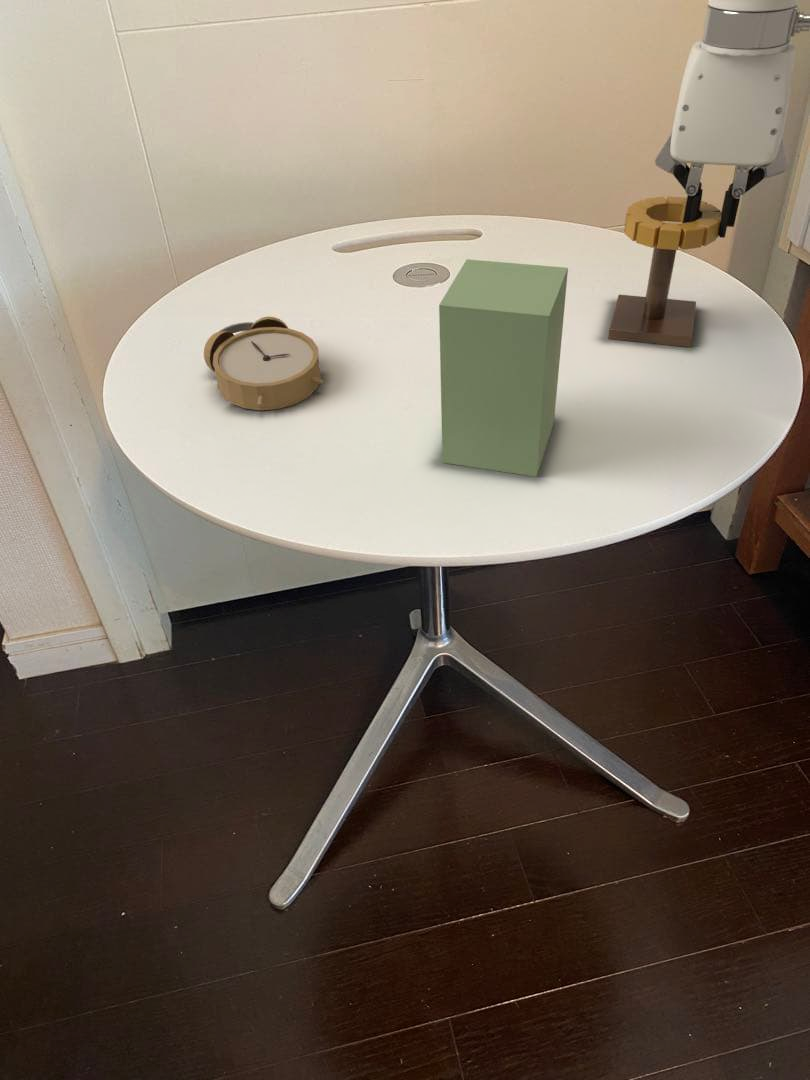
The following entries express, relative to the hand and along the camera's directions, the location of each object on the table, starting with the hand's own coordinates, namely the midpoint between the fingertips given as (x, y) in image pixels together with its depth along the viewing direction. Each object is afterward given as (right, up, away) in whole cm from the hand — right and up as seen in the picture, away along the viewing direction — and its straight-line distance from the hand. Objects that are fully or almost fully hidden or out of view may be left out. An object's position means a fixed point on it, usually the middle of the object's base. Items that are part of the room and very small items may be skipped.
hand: (706, 230), depth 85 cm
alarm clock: (-48, -15, +4) cm, 50 cm away
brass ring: (-3, +1, +1) cm, 4 cm away
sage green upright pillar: (-23, -23, -7) cm, 33 cm away
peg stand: (-3, -8, +9) cm, 12 cm away
